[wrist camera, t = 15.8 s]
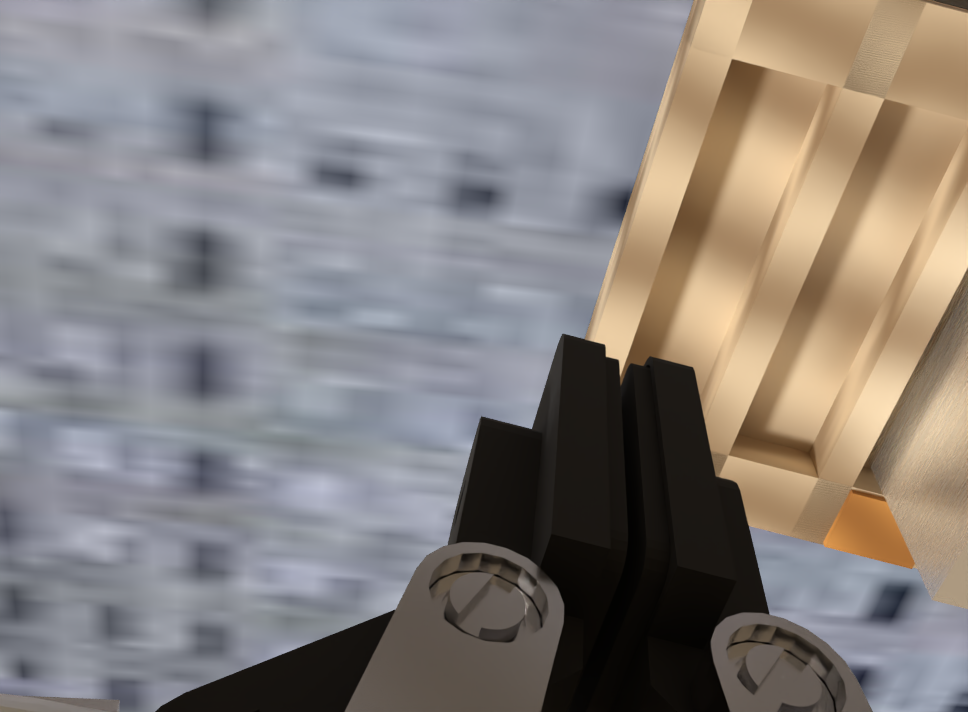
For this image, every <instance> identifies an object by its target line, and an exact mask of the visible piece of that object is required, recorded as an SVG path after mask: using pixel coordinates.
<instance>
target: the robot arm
mask: <svg viewBox="0 0 968 712" xmlns="http://www.w3.org/2000/svg"><path fill="white" fill-rule="evenodd" d="M119 703H120V700H106V699H83V698H60V697H36V696H18V695H9V694H1V693H0V712H119ZM156 712H873V711H872V709H871V707H870V705H869V703H868V701H867V699H866V697H865V695H864V693H863V691H862V689H861V687H860V685H859V683H858V681H857V679H856V677H855V676H854V674H853V673H852V671H851V670H850V668H849V667H848V665H847V664H846V662H845V661H844V660H843V659H842V658H841V657H840V656H839V655H838V654H837V653H836V652H835V651H834V650H833V649H832V648H831V647H830V646H829V645H828V644H827V643H826V642H824V641H823V640H822V639H820V638H819V637H817V636H816V635H814V634H813V633H812V632H810V631H809V630H807V629H805V628H803V627H801V626H799V625H797V624H795V623H793V622H791V621H788V620H786V619H784V618H780V617H776V616H772V615H770V614H769V610H768V606H767V602H766V597H765V593H764V589H763V585H762V580H761V576H760V572H759V568H758V563H757V559H756V555H755V551H754V547H753V542H752V538H751V534H750V530H749V525H748V521H747V517H746V513H745V508H744V504H743V500H742V496H741V491H740V489H739V486H738V484H737V483H736V482H734V481H733V480H729V479H725V478H721V477H717V476H716V475H715V470H714V465H713V460H712V455H711V450H710V445H709V440H708V435H707V430H706V425H705V420H704V415H703V410H702V405H701V400H700V395H699V390H698V385H697V380H696V375H695V370H694V368H693V367H690V366H687V365H683V364H679V363H675V362H671V361H667V360H663V359H659V358H655V357H651V356H650V357H649V358H648V359H647V360H646V362H645V364H644V366H641V365H637V364H633V363H631V364H630V365H629V366H628V368H627V370H626V373H625V375H624V378H623V381H622V384H621V385H620V366H619V360H618V359H614V358H610V357H606V347H605V344H601V343H597V342H593V341H589V340H585V339H581V338H578V337H574V336H570V335H566V334H562V336H561V338H560V341H559V343H558V346H557V349H556V352H555V356H554V359H553V362H552V365H551V369H550V372H549V375H548V379H547V382H546V385H545V388H544V392H543V395H542V398H541V401H540V405H539V408H538V411H537V414H536V418H535V421H534V424H533V427H532V429H529V428H525V427H521V426H517V425H513V424H509V423H505V422H501V421H497V420H494V419H490V418H486V417H482V416H481V418H480V421H479V425H478V428H477V431H476V435H475V439H474V442H473V446H472V449H471V453H470V457H469V460H468V464H467V468H466V472H465V475H464V479H463V483H462V487H461V491H460V495H459V499H458V503H457V507H456V511H455V515H454V519H453V523H452V528H451V532H450V537H449V541H448V545H447V546H443V547H441V548H439V549H438V550H436V551H434V552H432V553H430V554H429V555H427V556H426V557H425V558H424V560H423V561H422V562H421V563H420V565H419V566H418V567H417V568H416V570H415V572H414V574H413V576H412V578H411V580H410V582H409V584H408V586H407V588H406V590H405V592H404V594H403V596H402V598H401V600H400V602H399V604H398V606H397V608H396V610H393V611H391V612H388V613H386V614H383V615H381V616H378V617H375V618H373V619H370V620H368V621H365V622H363V623H360V624H358V625H355V626H353V627H350V628H348V629H345V630H343V631H340V632H338V633H335V634H333V635H330V636H327V637H325V638H322V639H320V640H317V641H315V642H312V643H310V644H307V645H305V646H302V647H300V648H297V649H295V650H292V651H290V652H287V653H285V654H282V655H279V656H277V657H274V658H272V659H269V660H267V661H264V662H262V663H259V664H257V665H254V666H252V667H249V668H247V669H244V670H242V671H239V672H237V673H234V674H231V675H229V676H226V677H224V678H221V679H219V680H216V681H214V682H211V683H209V684H206V685H204V686H201V687H199V688H196V689H194V690H191V691H189V692H186V693H184V694H182V695H180V696H179V697H177V698H175V699H173V700H171V701H170V702H168V703H166V704H164V705H162V706H161V707H160V708H159V709H158V710H157V711H156Z"/></svg>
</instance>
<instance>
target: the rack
mask: <svg viewBox="0 0 968 712" xmlns="http://www.w3.org/2000/svg"><path fill="white" fill-rule="evenodd" d="M967 268H968V10H966V9H963V8H959V7H955V6H951V5H948V4H944V3H940V2H936V1H932V0H694V2H693V5H692V8H691V11H690V14H689V17H688V20H687V23H686V27H685V30H684V33H683V36H682V39H681V42H680V45H679V48H678V51H677V54H676V58H675V61H674V64H673V67H672V70H671V73H670V76H669V79H668V82H667V85H666V89H665V92H664V95H663V98H662V101H661V104H660V107H659V110H658V113H657V117H656V120H655V123H654V126H653V129H652V132H651V135H650V138H649V141H648V144H647V148H646V151H645V154H644V157H643V160H642V163H641V166H640V169H639V172H638V175H637V179H636V182H635V185H634V188H633V191H632V194H631V197H630V200H629V203H628V206H627V210H626V213H625V216H624V219H623V222H622V225H621V228H620V231H619V234H618V237H617V241H616V244H615V247H614V250H613V253H612V256H611V259H610V262H609V265H608V269H607V272H606V275H605V278H604V281H603V284H602V287H601V290H600V293H599V296H598V300H597V303H596V306H595V309H594V312H593V315H592V318H591V321H590V324H589V327H588V331H587V334H586V337H585V340H589V341H593V342H597V343H601V344H605V347H606V357H610V358H614V359H618V360H619V366H620V385H621V384H622V381H623V378H624V375H625V373H626V370H627V368H628V366H629V365H630V364H631V363H633V364H637V365H641V366H644V364H645V362H646V360H647V359H648V358H649V357H650V356H651V357H655V358H659V359H663V360H667V361H671V362H675V363H679V364H683V365H687V366H690V367H693V368H694V370H695V375H696V380H697V385H698V390H699V395H700V400H701V405H702V410H703V415H704V420H705V425H706V430H707V435H708V440H709V445H710V450H711V455H712V460H713V465H714V470H715V475H716V476H717V477H721V478H725V479H729V480H733V481H734V482H736V483H737V484H738V486H739V489H740V491H741V496H742V500H743V504H744V508H745V513H746V517H747V521H748V525H749V526H752V527H756V528H760V529H764V530H767V531H771V532H775V533H779V534H783V535H787V536H791V537H795V538H799V539H803V540H807V541H811V542H815V543H819V544H822V545H824V546H825V547H828V548H832V549H836V550H840V551H844V552H848V553H852V554H856V555H860V556H864V557H867V558H871V559H875V560H879V561H883V562H887V563H891V564H895V565H899V566H903V567H907V568H911V569H912V568H917V566H916V564H915V562H914V560H913V558H912V556H911V554H910V551H909V549H908V547H907V545H906V543H905V541H904V538H903V536H902V534H901V532H900V530H899V528H898V525H897V523H896V521H895V519H894V517H893V515H892V512H891V510H890V508H889V506H888V504H887V502H886V499H885V497H884V495H883V493H882V491H881V489H880V487H879V484H878V482H877V480H876V478H875V476H874V474H873V471H872V469H871V467H870V465H869V463H868V461H867V458H868V456H869V454H870V452H871V451H872V449H873V447H874V445H875V443H876V441H877V439H878V437H879V435H880V433H881V432H882V430H883V428H884V426H885V424H886V422H887V420H888V418H889V416H890V414H891V413H892V411H893V409H894V407H895V405H896V403H897V401H898V399H899V397H900V395H901V394H902V392H903V390H904V388H905V386H906V384H907V382H908V380H909V378H910V377H911V375H912V373H913V371H914V369H915V367H916V365H917V363H918V361H919V359H920V358H921V356H922V354H923V352H924V350H925V348H926V346H927V344H928V342H929V340H930V339H931V337H932V335H933V333H934V331H935V329H936V327H937V325H938V323H939V321H940V320H941V318H942V316H943V314H944V312H945V310H946V308H947V306H948V304H949V302H950V301H951V299H952V297H953V295H954V293H955V291H956V289H957V287H958V285H959V283H960V282H961V280H962V278H963V276H964V274H965V272H966V270H967Z"/></svg>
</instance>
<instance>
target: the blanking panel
mask: <svg viewBox="0 0 968 712" xmlns="http://www.w3.org/2000/svg"><path fill="white" fill-rule="evenodd" d="M867 461H868V463H869V465H870V467H871V469H872V471H873V474H874V476H875V478H876V480H877V482H878V484H879V487H880V489H881V491H882V493H883V495H884V497H885V499H886V502H887V504H888V506H889V508H890V510H891V512H892V515H893V517H894V519H895V521H896V523H897V525H898V528H899V530H900V532H901V534H902V536H903V538H904V541H905V543H906V545H907V547H908V549H909V551H910V554H911V556H912V558H913V560H914V562H915V564H916V566H917V569H918V571H919V573H920V575H921V577H922V579H923V582H924V584H925V586H926V588H927V590H928V592H929V595H930V597H931V599H932V600H934V601H938V602H942V603H946V604H950V605H954V606H958V607H962V608H966V609H968V268H967V270H966V272H965V274H964V276H963V278H962V280H961V282H960V283H959V285H958V287H957V289H956V291H955V293H954V295H953V297H952V299H951V301H950V302H949V304H948V306H947V308H946V310H945V312H944V314H943V316H942V318H941V320H940V321H939V323H938V325H937V327H936V329H935V331H934V333H933V335H932V337H931V339H930V340H929V342H928V344H927V346H926V348H925V350H924V352H923V354H922V356H921V358H920V359H919V361H918V363H917V365H916V367H915V369H914V371H913V373H912V375H911V377H910V378H909V380H908V382H907V384H906V386H905V388H904V390H903V392H902V394H901V395H900V397H899V399H898V401H897V403H896V405H895V407H894V409H893V411H892V413H891V414H890V416H889V418H888V420H887V422H886V424H885V426H884V428H883V430H882V432H881V433H880V435H879V437H878V439H877V441H876V443H875V445H874V447H873V449H872V451H871V452H870V454H869V456H868V458H867Z"/></svg>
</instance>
